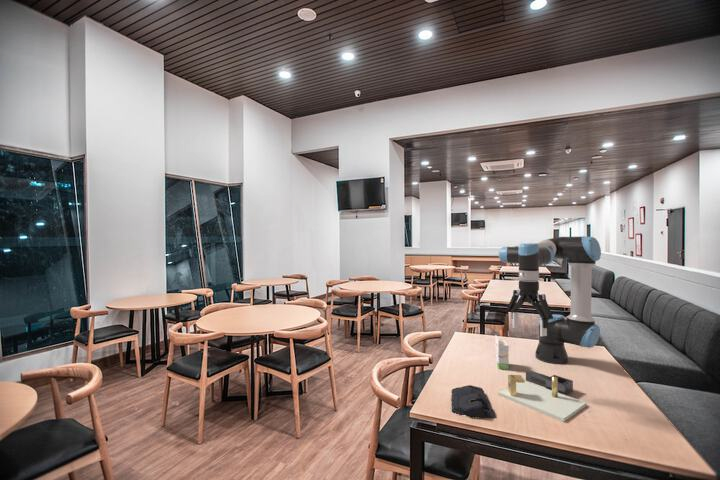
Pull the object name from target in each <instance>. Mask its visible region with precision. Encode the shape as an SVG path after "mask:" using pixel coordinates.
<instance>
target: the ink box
mask: <svg viewBox="0 0 720 480" xmlns="http://www.w3.org/2000/svg"><path fill="white" fill-rule="evenodd" d="M494 341H495V342H494V344H495V346H494V349H495V354H494V355H495V358H494V359H495V360H494V361H495V362H494V363H495V364H496V367H497V368H498V370H499V369H500V370H510V368H509V365H510V364H509V351H510V350H509V348H510V346H509V345H508V343H507V341H506V340H500V338H499V337H498V336H497V335H496V334H495V339H494Z"/></svg>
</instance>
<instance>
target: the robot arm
mask: <svg viewBox="0 0 720 480" xmlns="http://www.w3.org/2000/svg"><path fill="white" fill-rule="evenodd" d="M601 256H602V250H601V246H600V242H599V240H598V239H597V238H595V237H594V236H558V237H553V238H547V239H542V240H541V241H539V242H536V243H533V242H531V243H520V244H519V245H516V246H502V247H501V248H500V249H499V251H498V259H499V261H500V262H502V263H503V264H504V263H505V264H518V280H519V281H518V289H513V292H512V297H511V299H510V301H509V303H508V306H507V311H510V312H511V320H512V329H513V328H514V329H515V328H516V329H517V328H520V327H519V323H520V317H519V315H520V312H519V311H518V310H519V309H521V307H522V306H523V305H524V303H526V304H530V305H532V306H533V307H534V309H535V310H536V312H537V313H538V315H539V318H538V343H537V347H536V350H535V353H534V354H535V355H534V356H535V358H536V359H538V360H540V361H543V362H545V363H549V364H558V365H559V364H561V365H562V364H567V363H569V355H568V353H567V352H568V351H567V350H566V346H565V344H566V343H567V344H570V345H573V346H574V345H575V346H579V347H581V348H587V349H591V348H594V347H595V346H596V345H597V343H598V342H599V339H600V334H601V330H600V326H599V325H598V324H597V323H595V321H596V320H595V319H594V318H593V317H592V280H593V279H592V277H593V275H592V270H593V269H592V268H593V267H595V266H596V262H597V261H600V259H601ZM555 259H559V260H560V259H561V260H567V264H568V265H569V267H570V311H569V312H570V313H569V315H567V316H566V318H565V316H564V315H563V314H554V313H553V314H552V311H551V309H550V306H549V304H548V301H547V297H546V294H544V293H541V294H539V290H540V282H539V280H540V269H539V266H543V265H544V266H546V265H549V264H551V263H552V262H553V261H554V260H555Z"/></svg>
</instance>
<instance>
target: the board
mask: <svg viewBox="0 0 720 480" xmlns="http://www.w3.org/2000/svg"><path fill="white" fill-rule="evenodd" d="M497 395H498V396H500V397H503V398H504V399H507V400H509V401H512V402H514V403H516V404H519V405H521V406H523V407H527V408H528V409H531V410H534V411H536V412H539V413H541V414H544V415H545V416H548V417H551V418H553V419H556V420H558V421H560V422H561V423H562V422H563V423H564V422H566V421H567V420H569V419H570V418H572V417H573V416H575V415H576V414H577V413H578V412H580V411H582V410H583V409H584V408H585V407H587V402H586V401H583V400H580V399H577V398H574V397H571V396H569V395H567V396H566V395H563V394H560V393H558V397H557V398H555V397H552V390H549V389H546V387H543V386H540V385H537V384H534V383H532V382H529V381H526V380H525V383H519V382H516V396H511V395H510V393H509V392H508V387H506V388H504V389H502V390H500V391H498V392H497Z"/></svg>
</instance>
